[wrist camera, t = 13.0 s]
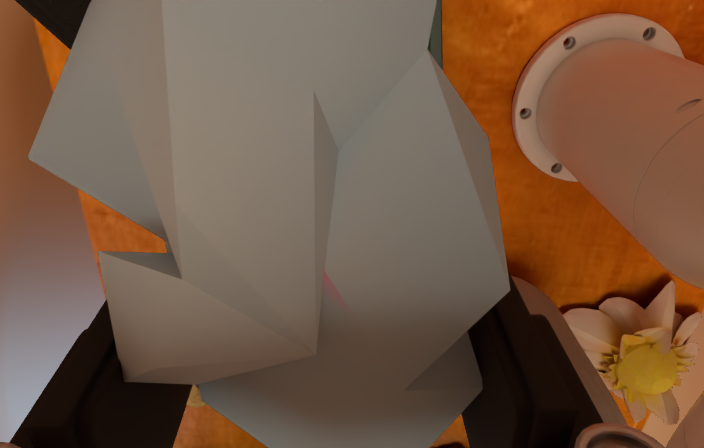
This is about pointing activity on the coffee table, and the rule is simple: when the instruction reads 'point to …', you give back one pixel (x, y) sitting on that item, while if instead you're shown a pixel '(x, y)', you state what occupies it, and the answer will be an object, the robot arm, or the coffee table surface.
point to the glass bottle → (572, 351)
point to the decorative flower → (638, 350)
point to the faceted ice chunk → (287, 210)
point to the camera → (58, 16)
